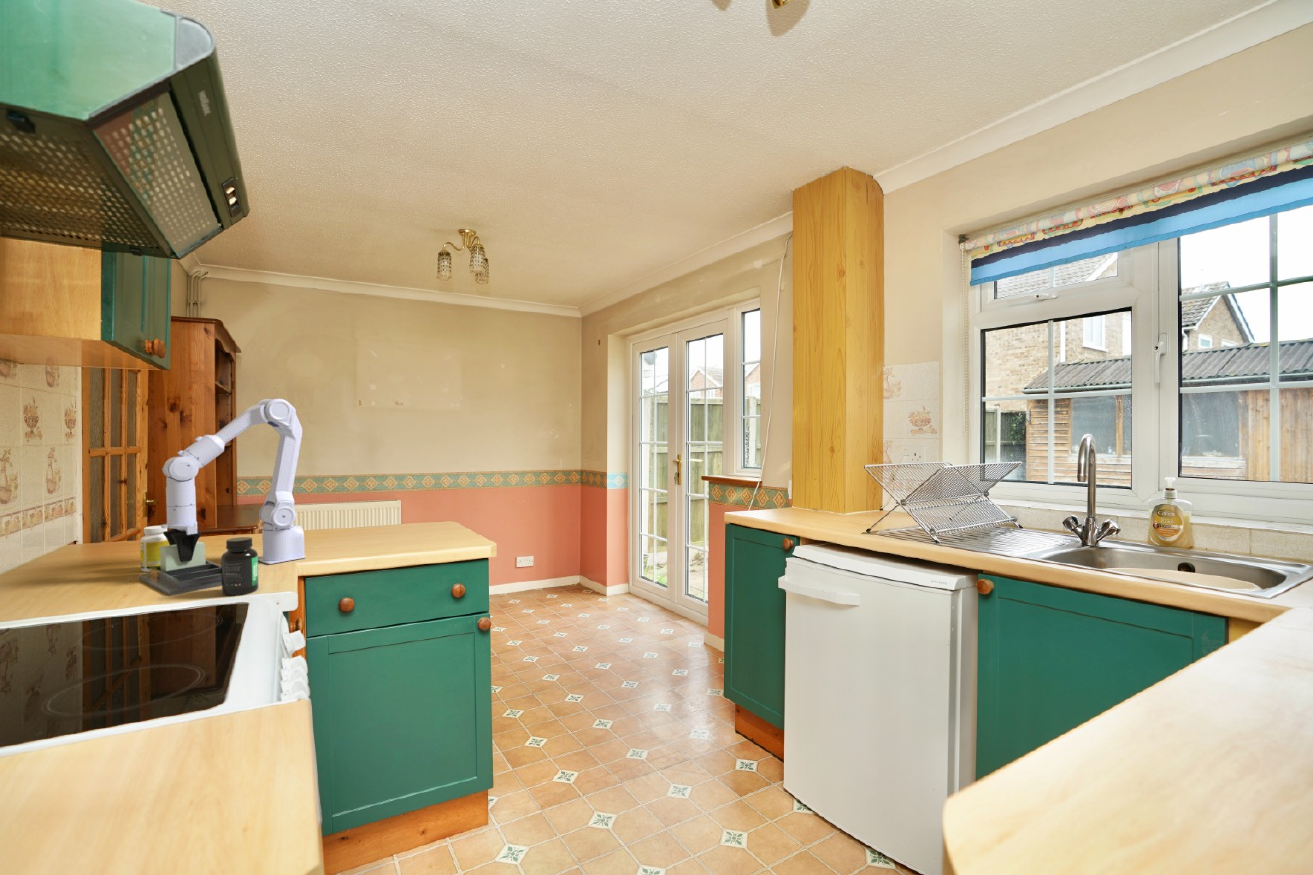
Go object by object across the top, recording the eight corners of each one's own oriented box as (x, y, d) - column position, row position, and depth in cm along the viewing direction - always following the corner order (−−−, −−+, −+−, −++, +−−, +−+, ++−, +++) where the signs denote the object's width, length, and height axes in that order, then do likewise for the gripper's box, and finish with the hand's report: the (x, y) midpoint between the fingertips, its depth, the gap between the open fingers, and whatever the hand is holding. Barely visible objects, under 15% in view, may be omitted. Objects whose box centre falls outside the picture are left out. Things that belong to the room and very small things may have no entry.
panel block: (199, 564, 155) (199, 541, 155) (205, 566, 153) (205, 543, 152) (160, 570, 148) (159, 546, 148) (166, 573, 146) (165, 548, 146)
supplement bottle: (264, 590, 139) (263, 537, 138) (232, 597, 133) (230, 543, 132) (248, 585, 142) (247, 534, 141) (215, 593, 136) (214, 540, 135)
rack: (212, 566, 159) (212, 557, 159) (246, 580, 146) (246, 570, 146) (139, 579, 147) (138, 568, 147) (169, 595, 134) (169, 584, 134)
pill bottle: (178, 566, 159) (177, 524, 159) (156, 572, 153) (155, 529, 152) (156, 566, 160) (155, 524, 159) (134, 572, 153) (133, 528, 153)
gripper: (151, 504, 151) (153, 558, 151) (171, 510, 142) (172, 567, 143) (185, 501, 157) (187, 553, 157) (207, 506, 148) (208, 561, 149)
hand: (182, 559), depth 150 cm, fingers closed on panel block, 4 cm apart
